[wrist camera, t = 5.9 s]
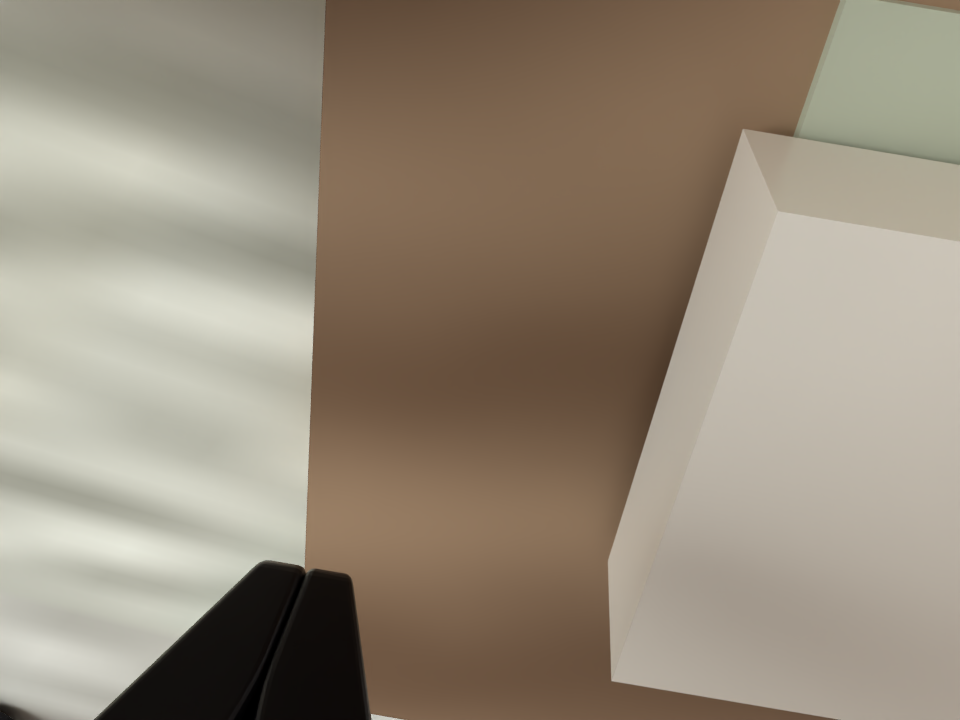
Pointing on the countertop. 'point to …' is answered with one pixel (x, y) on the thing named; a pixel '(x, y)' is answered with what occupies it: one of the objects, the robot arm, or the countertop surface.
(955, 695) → the glazed tile
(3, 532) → the countertop surface
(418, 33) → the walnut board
